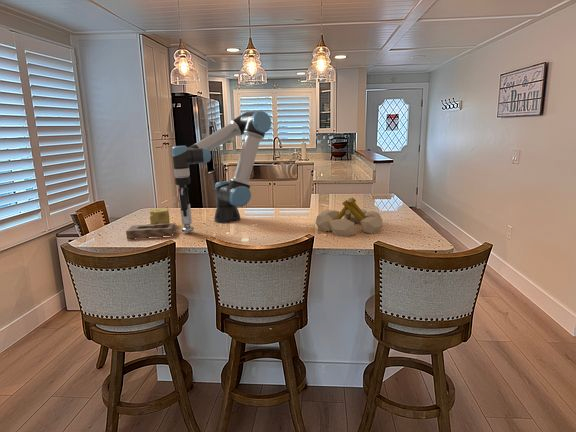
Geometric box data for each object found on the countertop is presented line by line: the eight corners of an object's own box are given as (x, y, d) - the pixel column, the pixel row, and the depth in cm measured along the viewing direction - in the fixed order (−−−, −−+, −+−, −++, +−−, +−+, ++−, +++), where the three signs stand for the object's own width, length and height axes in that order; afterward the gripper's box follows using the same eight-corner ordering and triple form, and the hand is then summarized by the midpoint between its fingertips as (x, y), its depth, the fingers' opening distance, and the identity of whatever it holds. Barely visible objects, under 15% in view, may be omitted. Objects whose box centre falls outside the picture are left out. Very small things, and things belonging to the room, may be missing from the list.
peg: (194, 228, 216) (191, 203, 212) (192, 231, 210) (190, 205, 207) (182, 229, 215) (180, 203, 212) (181, 232, 209) (178, 206, 206)
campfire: (329, 240, 193) (329, 205, 189) (307, 224, 225) (306, 193, 221) (395, 233, 202) (396, 199, 198) (365, 218, 234) (365, 189, 230)
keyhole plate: (175, 231, 218) (174, 223, 217) (171, 237, 206) (170, 228, 205) (133, 233, 215) (132, 225, 214) (127, 239, 204) (126, 231, 203)
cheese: (150, 230, 222) (148, 212, 220) (151, 225, 232) (149, 208, 230) (170, 228, 225) (168, 210, 222) (170, 224, 235) (168, 207, 233)
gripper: (177, 174, 214) (182, 217, 219) (171, 179, 197) (176, 225, 202) (191, 174, 215) (196, 216, 220) (187, 178, 198) (192, 224, 203)
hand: (186, 221), depth 211 cm, fingers closed on peg, 4 cm apart
